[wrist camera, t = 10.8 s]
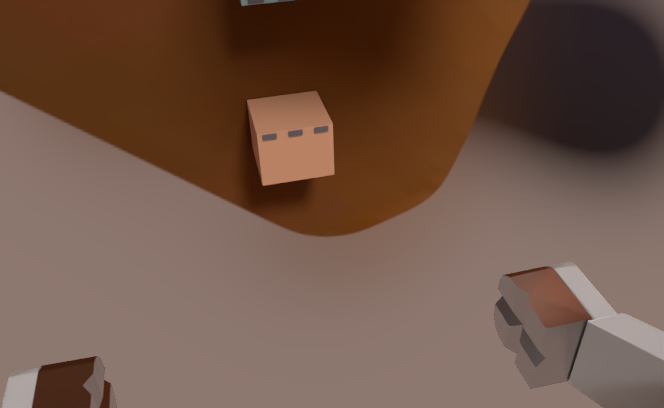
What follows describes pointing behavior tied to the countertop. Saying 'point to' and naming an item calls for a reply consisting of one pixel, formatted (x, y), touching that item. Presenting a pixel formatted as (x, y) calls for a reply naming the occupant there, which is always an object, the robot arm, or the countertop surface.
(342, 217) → the countertop surface
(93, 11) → the countertop surface
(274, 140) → the block
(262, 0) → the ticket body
